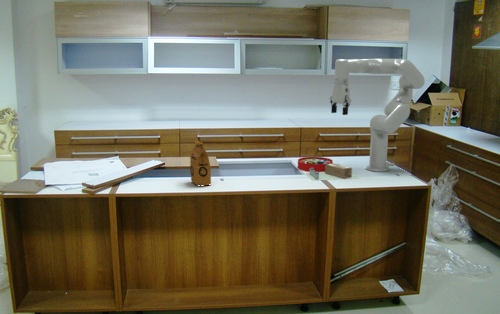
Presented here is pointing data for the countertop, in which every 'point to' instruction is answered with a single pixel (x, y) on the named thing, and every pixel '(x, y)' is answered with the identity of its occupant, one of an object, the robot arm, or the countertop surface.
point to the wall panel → (327, 176)
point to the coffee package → (200, 165)
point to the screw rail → (314, 173)
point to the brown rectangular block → (338, 170)
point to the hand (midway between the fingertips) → (339, 113)
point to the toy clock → (313, 163)
